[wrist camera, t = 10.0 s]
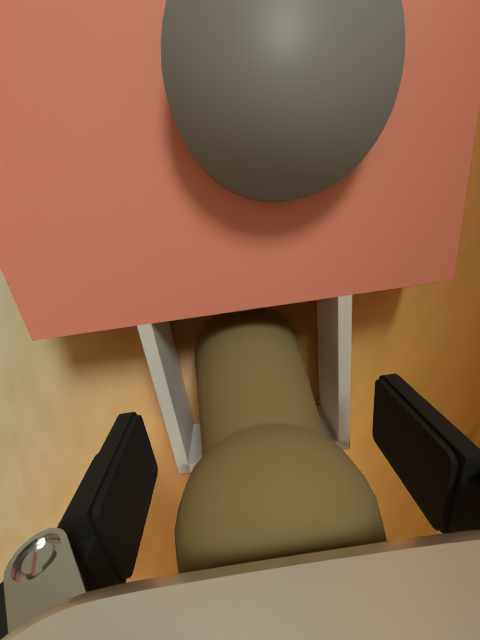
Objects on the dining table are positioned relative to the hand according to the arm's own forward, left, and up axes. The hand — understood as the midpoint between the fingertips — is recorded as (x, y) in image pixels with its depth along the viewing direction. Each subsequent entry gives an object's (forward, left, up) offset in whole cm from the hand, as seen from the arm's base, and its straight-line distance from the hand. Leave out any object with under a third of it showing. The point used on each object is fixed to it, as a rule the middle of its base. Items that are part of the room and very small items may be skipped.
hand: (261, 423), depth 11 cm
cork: (0, 0, -6) cm, 6 cm away
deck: (0, -6, -5) cm, 8 cm away
